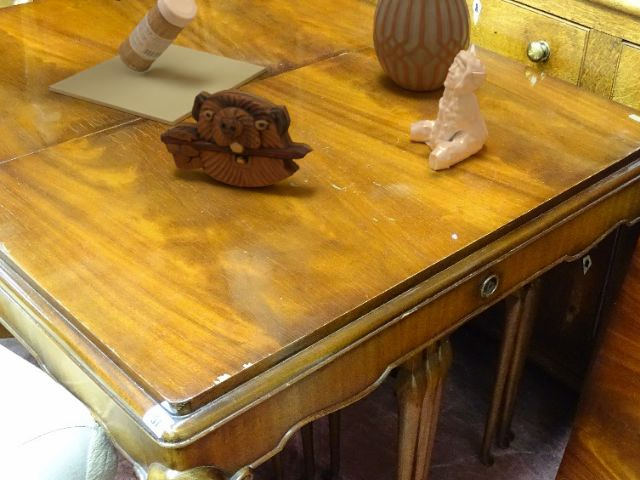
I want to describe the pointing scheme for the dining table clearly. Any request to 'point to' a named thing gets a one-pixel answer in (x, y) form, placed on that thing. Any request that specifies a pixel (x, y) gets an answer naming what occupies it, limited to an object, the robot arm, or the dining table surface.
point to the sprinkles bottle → (156, 32)
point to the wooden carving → (236, 139)
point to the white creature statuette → (455, 116)
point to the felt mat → (158, 83)
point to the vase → (420, 40)
